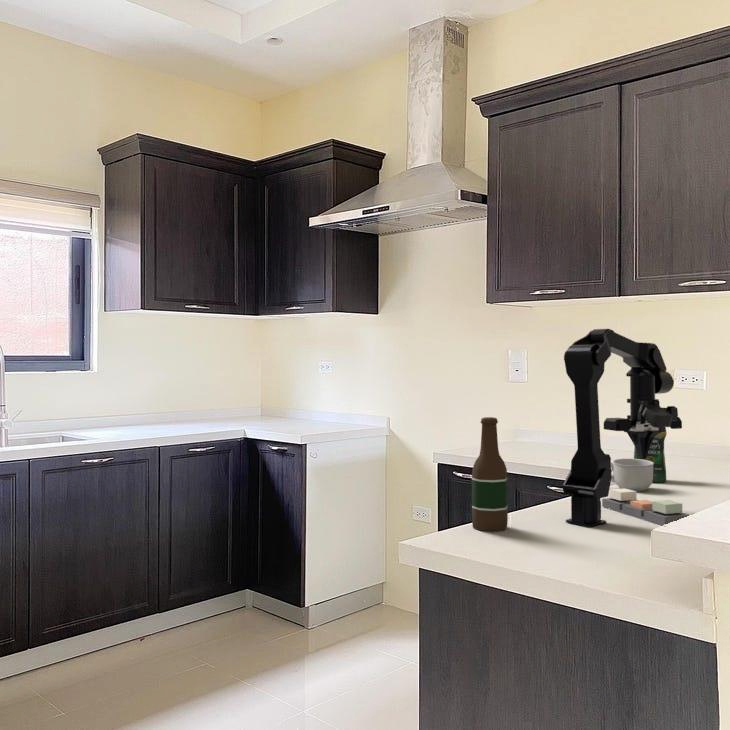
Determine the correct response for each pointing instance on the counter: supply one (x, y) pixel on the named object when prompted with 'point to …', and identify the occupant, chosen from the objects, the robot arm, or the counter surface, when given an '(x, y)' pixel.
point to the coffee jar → (656, 456)
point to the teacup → (632, 473)
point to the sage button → (667, 506)
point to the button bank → (642, 512)
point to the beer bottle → (489, 483)
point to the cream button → (623, 494)
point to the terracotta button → (641, 504)
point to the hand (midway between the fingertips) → (643, 458)
